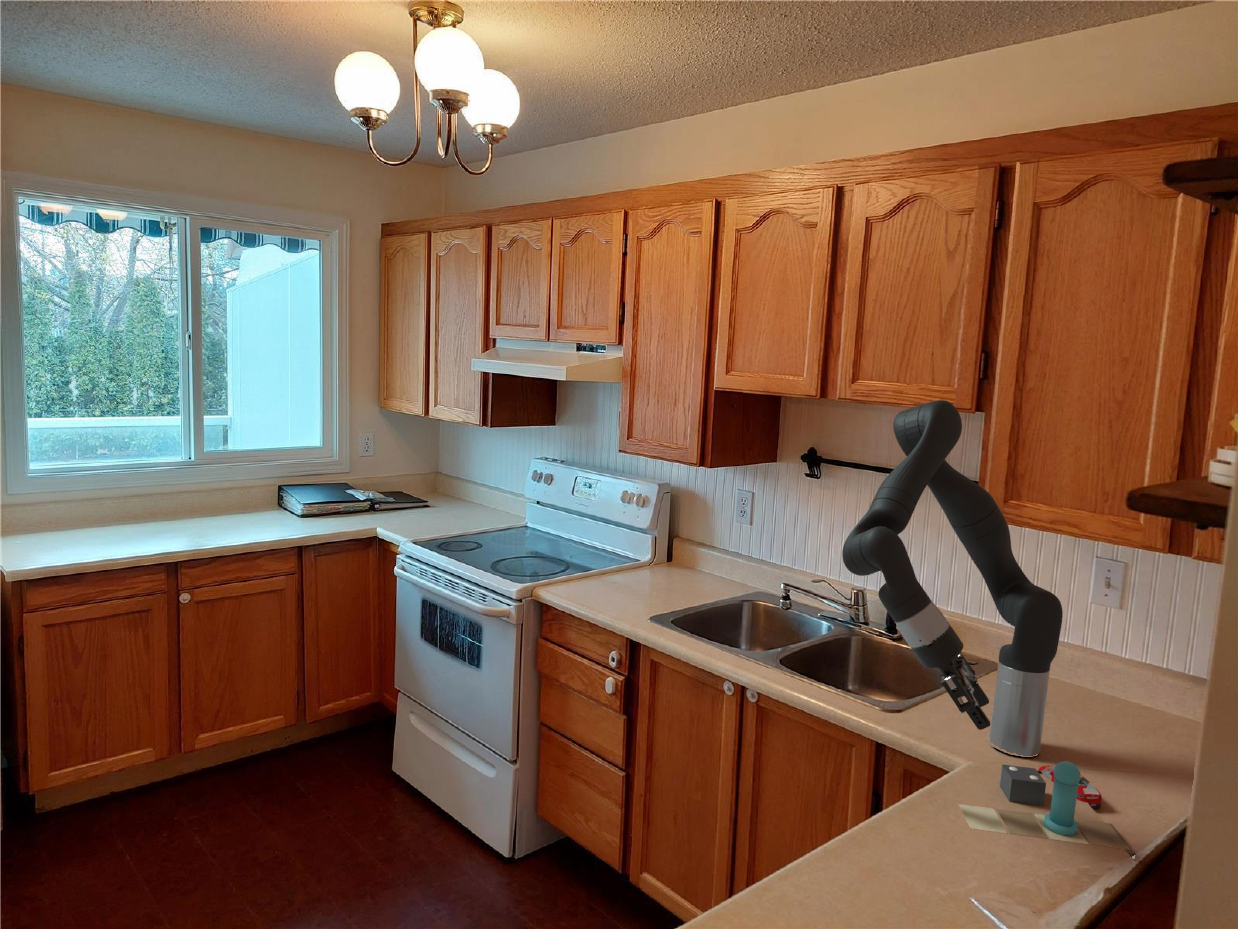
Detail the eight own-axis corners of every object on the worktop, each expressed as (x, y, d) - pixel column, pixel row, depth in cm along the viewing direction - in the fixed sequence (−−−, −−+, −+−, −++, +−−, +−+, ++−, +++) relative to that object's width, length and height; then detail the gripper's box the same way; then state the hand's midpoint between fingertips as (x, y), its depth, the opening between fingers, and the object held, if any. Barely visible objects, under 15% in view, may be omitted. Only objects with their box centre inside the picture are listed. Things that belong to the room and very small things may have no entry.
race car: (1030, 776, 159) (1032, 755, 158) (1057, 776, 159) (1059, 755, 159) (1077, 812, 146) (1079, 790, 145) (1106, 812, 146) (1108, 790, 146)
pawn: (1039, 818, 139) (1047, 754, 138) (1070, 822, 138) (1078, 757, 137) (1049, 834, 134) (1058, 767, 133) (1082, 838, 134) (1090, 771, 132)
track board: (952, 810, 143) (953, 801, 143) (1110, 830, 140) (1111, 822, 139) (965, 838, 134) (966, 829, 134) (1135, 861, 131) (1136, 852, 131)
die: (998, 794, 150) (1002, 763, 149) (1031, 798, 149) (1035, 767, 148) (1008, 809, 144) (1011, 778, 144) (1042, 814, 144) (1046, 782, 143)
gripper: (911, 629, 150) (964, 707, 149) (905, 659, 137) (964, 744, 136) (949, 609, 147) (1004, 689, 146) (947, 638, 134) (1007, 725, 133)
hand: (984, 715), depth 141 cm, fingers open, 8 cm apart
